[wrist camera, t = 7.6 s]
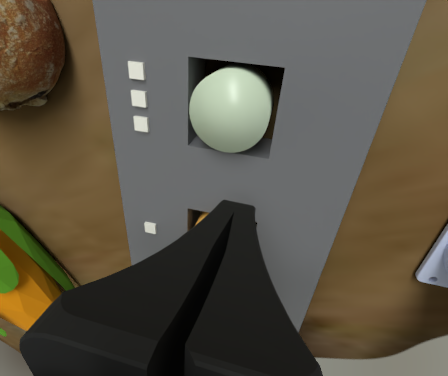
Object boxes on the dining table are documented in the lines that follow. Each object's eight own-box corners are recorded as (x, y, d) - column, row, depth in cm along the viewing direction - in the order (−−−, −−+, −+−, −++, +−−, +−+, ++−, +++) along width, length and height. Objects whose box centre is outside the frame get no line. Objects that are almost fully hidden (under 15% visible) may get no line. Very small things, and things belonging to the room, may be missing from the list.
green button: (279, 66, 15) (276, 76, 12) (267, 137, 17) (262, 158, 14) (207, 58, 15) (189, 66, 13) (204, 128, 17) (188, 146, 15)
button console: (409, -19, 12) (440, -31, 10) (282, 344, 28) (281, 378, 26) (122, -37, 14) (82, -51, 12) (155, 311, 30) (141, 339, 28)
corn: (-138, 211, 18) (65, 378, 26) (-23, 160, 24) (114, 306, 32) (-159, 233, 22) (25, 374, 29) (-53, 183, 28) (77, 310, 35)
